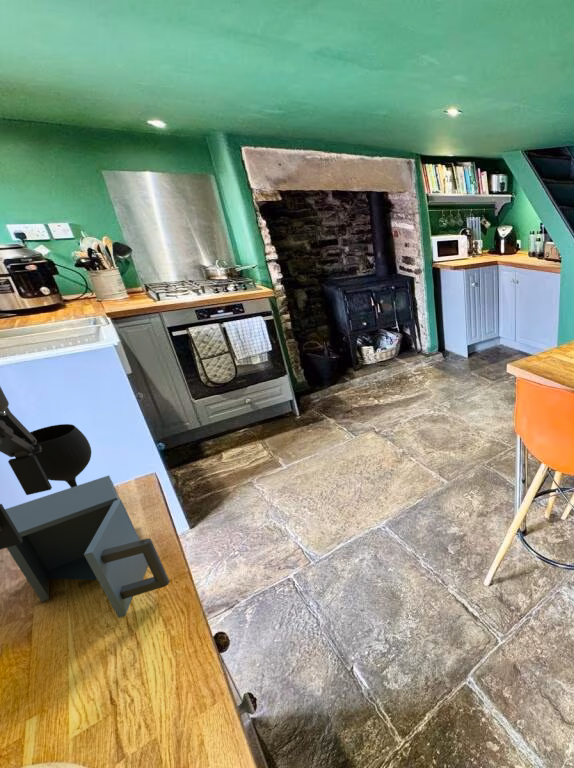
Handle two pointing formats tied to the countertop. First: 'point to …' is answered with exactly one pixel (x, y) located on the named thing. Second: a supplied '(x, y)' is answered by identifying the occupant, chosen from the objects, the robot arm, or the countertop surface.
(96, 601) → the countertop surface
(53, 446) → the wine glass
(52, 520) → the cupboard
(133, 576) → the cupboard door
